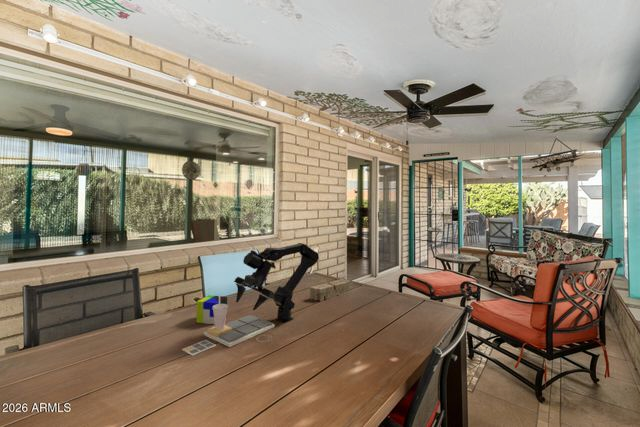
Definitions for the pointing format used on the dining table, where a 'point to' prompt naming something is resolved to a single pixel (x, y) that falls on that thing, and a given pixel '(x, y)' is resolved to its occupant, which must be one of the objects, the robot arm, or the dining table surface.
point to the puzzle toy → (208, 308)
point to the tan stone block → (329, 289)
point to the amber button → (218, 331)
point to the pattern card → (198, 347)
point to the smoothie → (220, 315)
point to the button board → (242, 330)
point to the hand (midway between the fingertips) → (245, 306)
